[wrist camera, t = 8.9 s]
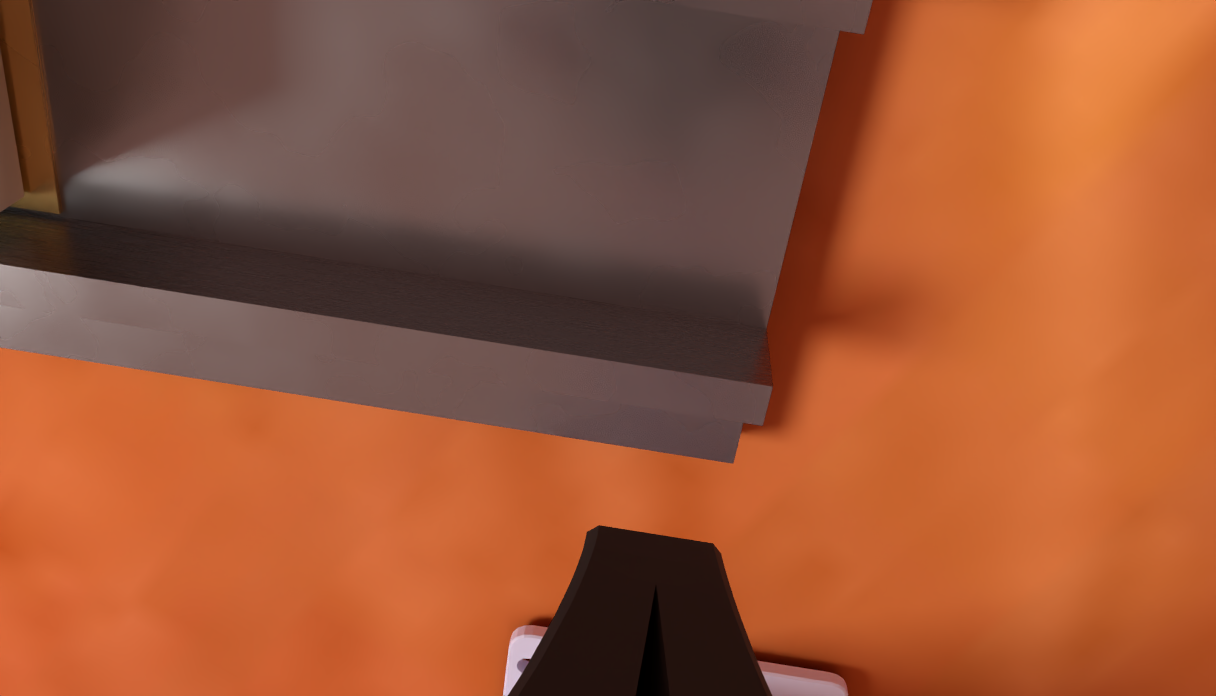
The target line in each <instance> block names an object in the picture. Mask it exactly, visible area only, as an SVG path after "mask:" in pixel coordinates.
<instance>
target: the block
mask: <svg viewBox="0 0 1216 696" xmlns="http://www.w3.org/2000/svg"><path fill="white" fill-rule="evenodd" d="M23 197H24V190H23V183H22V177H21V171H20V165H19V159H18V153H17V147H16V141H15V135H14V129H13V123H12V117H11V110H10V104H9V98H8V92H7V86H6V80H5V74H4V68H3V62H2V56H1V50H0V212H1V211H3V210H4V209H6V208H7V207H9V206H10V205H12V204H13V203H15V202H17V201H18V200H20V199H21V198H23Z"/></svg>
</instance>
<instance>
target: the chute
mask: <svg viewBox="0 0 1216 696" xmlns="http://www.w3.org/2000/svg"><path fill="white" fill-rule="evenodd" d="M872 1H873V0H0V50H1V56H2V62H3V68H4V74H5V80H6V86H7V92H8V98H9V104H10V110H11V117H12V123H13V129H14V135H15V141H16V147H17V153H18V159H19V165H20V171H21V177H22V183H23V190H24V197H23V198H21V199H20V200H18V201H17V202H15V203H13V204H12V205H10V206H9V207H7V208H6V209H4V210H3V211H1V212H0V347H1V348H8V349H14V350H20V351H26V352H33V353H39V354H45V355H52V356H58V357H64V358H71V359H77V360H83V361H90V362H96V363H102V364H108V365H115V366H121V367H127V368H134V369H140V370H146V371H153V372H159V373H165V374H172V375H178V376H184V377H190V378H197V379H203V380H209V381H216V382H222V383H228V384H235V385H241V386H247V387H254V388H260V389H266V390H273V391H279V392H285V393H291V394H298V395H304V396H310V397H317V398H323V399H329V400H336V401H342V402H348V403H355V404H361V405H367V406H373V407H380V408H386V409H392V410H399V411H405V412H411V413H418V414H424V415H430V416H437V417H443V418H449V419H455V420H462V421H468V422H474V423H481V424H487V425H493V426H500V427H506V428H512V429H519V430H525V431H531V432H537V433H544V434H550V435H556V436H563V437H569V438H575V439H582V440H588V441H594V442H601V443H607V444H613V445H620V446H626V447H632V448H638V449H645V450H651V451H657V452H664V453H670V454H676V455H683V456H689V457H695V458H702V459H708V460H714V461H720V462H727V463H733V462H734V458H735V454H736V450H737V446H738V442H739V438H740V434H741V430H742V426H743V423H747V424H754V425H760V426H763V423H764V419H765V415H766V411H767V407H768V404H769V400H770V396H771V392H772V388H773V383H772V374H771V365H770V356H769V347H768V337H767V324H768V320H769V316H770V312H771V308H772V304H773V300H774V296H775V292H776V288H777V284H778V280H779V276H780V272H781V268H782V263H783V259H784V255H785V251H786V247H787V243H788V239H789V235H790V231H791V227H792V223H793V219H794V215H795V211H796V207H797V203H798V198H799V194H800V190H801V186H802V182H803V178H804V174H805V170H806V166H807V162H808V158H809V154H810V150H811V146H812V142H813V138H814V134H815V129H816V125H817V121H818V117H819V113H820V109H821V105H822V101H823V97H824V93H825V89H826V85H827V81H828V77H829V73H830V69H831V64H832V60H833V56H834V52H835V48H836V44H837V40H838V36H839V32H840V31H845V32H851V33H858V34H864V32H865V28H866V24H867V21H868V17H869V13H870V9H871V5H872Z"/></svg>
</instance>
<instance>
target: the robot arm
mask: <svg viewBox="0 0 1216 696" xmlns="http://www.w3.org/2000/svg"><path fill="white" fill-rule="evenodd" d="M524 659H530V661H526V660H524ZM503 696H848V692H847V685H846V683H845V681H844V679H843V678H842V677H840V676H839V675H837V674H834V673H831V672H826V671H819V670H813V669H807V668H800V667H794V666H788V665H781V664H775V663H769V662H763V661H757V659H756V656H755V654H754V652H753V649H752V646H751V644H750V641H749V639H748V636H747V633H746V631H745V628H744V625H743V623H742V620H741V617H740V614H739V612H738V609H737V606H736V603H735V600H734V597H733V594H732V591H731V588H730V585H729V581H728V578H727V575H726V571H725V568H724V564H723V560H722V556H721V553H720V552H719V551H718V549H717V548H716V547H715V545H714V544H713V543H707V542H700V541H694V540H688V539H681V538H675V537H669V536H663V535H656V534H650V533H644V532H637V531H631V530H625V529H618V528H612V527H606V526H600V525H599V526H597V527H595V528H594V529H592V530H590V531H588V532H587V535H586V539H585V544H584V548H583V551H582V554H581V557H580V560H579V563H578V566H577V568H576V571H575V573H574V576H573V578H572V580H571V583H570V585H569V587H568V589H567V591H566V594H565V596H564V598H563V600H562V602H561V604H560V606H559V608H558V610H557V612H556V614H555V616H554V618H553V620H552V622H551V623H550V625H549V627H542V626H536V625H525V626H521V627H518V628H517V629H516V630H515V631H513V634H512V636H511V640H510V644H509V651H508V659H507V667H506V675H505V684H504V692H503Z"/></svg>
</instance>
